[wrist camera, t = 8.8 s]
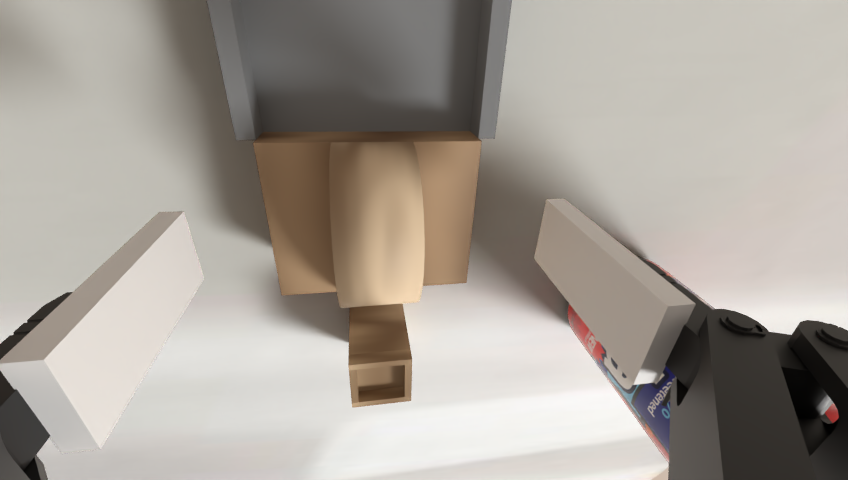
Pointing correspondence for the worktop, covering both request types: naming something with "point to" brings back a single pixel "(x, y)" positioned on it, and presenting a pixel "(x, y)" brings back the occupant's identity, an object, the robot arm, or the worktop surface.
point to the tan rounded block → (369, 211)
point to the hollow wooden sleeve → (379, 355)
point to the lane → (361, 64)
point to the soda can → (641, 385)
